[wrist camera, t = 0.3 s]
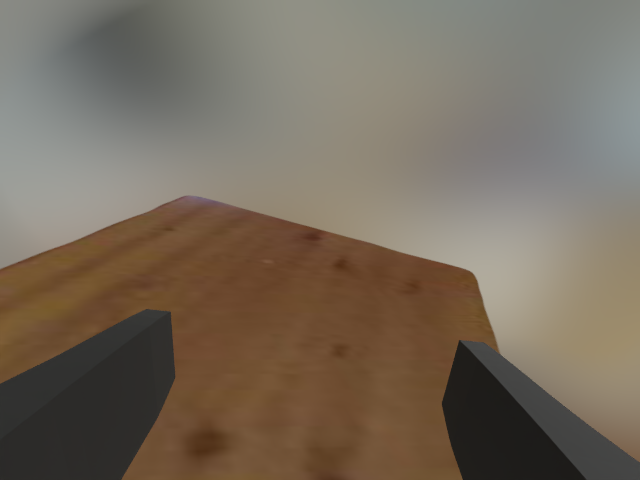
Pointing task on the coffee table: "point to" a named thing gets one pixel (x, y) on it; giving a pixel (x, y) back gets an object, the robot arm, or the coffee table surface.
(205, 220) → the coffee table surface
